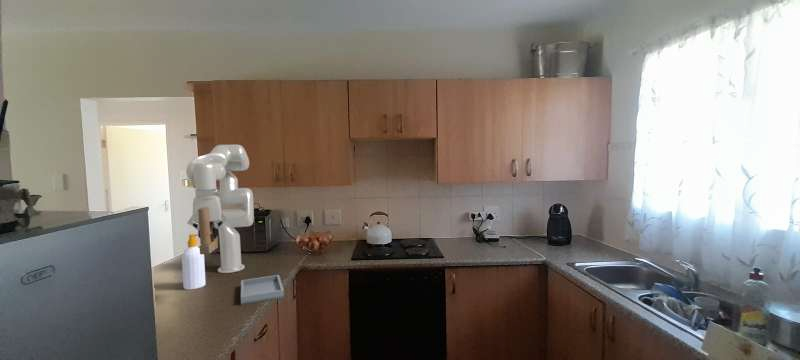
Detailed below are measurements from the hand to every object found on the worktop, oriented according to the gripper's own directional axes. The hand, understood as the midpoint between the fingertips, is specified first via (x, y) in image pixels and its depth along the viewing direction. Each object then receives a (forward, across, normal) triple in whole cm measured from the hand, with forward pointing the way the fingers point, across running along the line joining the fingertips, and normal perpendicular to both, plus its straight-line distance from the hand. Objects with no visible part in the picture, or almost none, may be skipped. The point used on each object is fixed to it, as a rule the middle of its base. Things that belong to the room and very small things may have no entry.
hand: (208, 238), depth 141 cm
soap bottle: (+25, +8, -20) cm, 33 cm away
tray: (+25, -19, +2) cm, 31 cm away
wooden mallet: (+6, 0, 0) cm, 6 cm away
